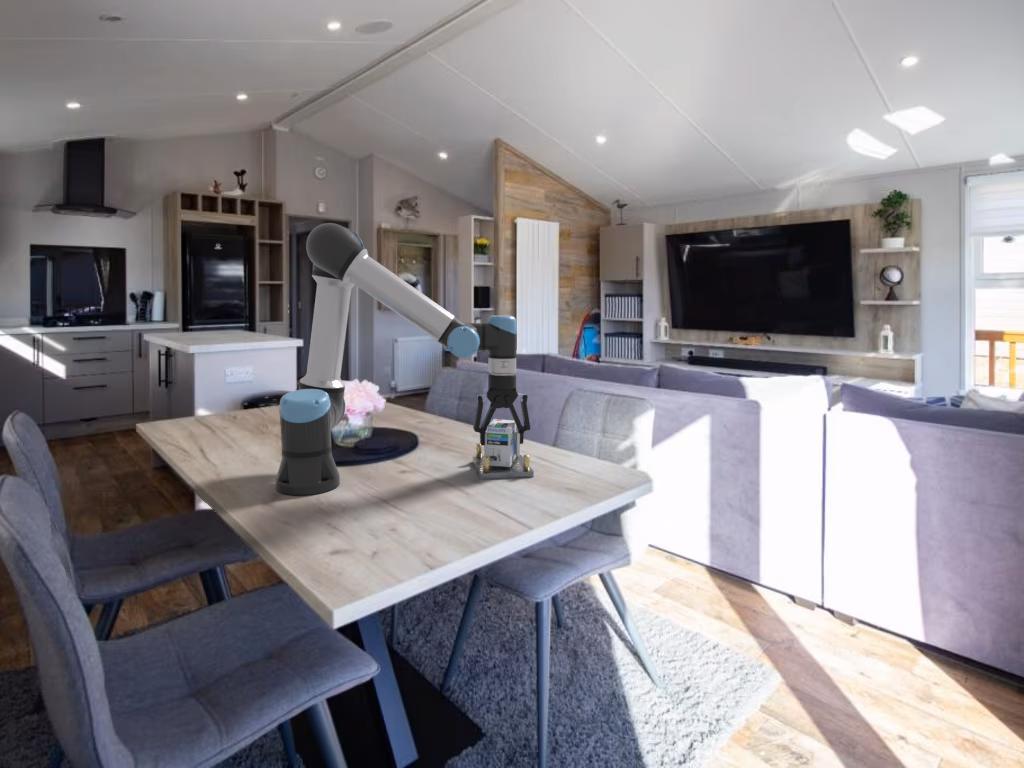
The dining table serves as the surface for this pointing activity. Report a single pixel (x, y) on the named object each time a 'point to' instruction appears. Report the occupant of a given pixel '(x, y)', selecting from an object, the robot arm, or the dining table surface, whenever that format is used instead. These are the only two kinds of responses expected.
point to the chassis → (496, 472)
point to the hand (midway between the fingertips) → (501, 455)
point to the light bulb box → (501, 442)
